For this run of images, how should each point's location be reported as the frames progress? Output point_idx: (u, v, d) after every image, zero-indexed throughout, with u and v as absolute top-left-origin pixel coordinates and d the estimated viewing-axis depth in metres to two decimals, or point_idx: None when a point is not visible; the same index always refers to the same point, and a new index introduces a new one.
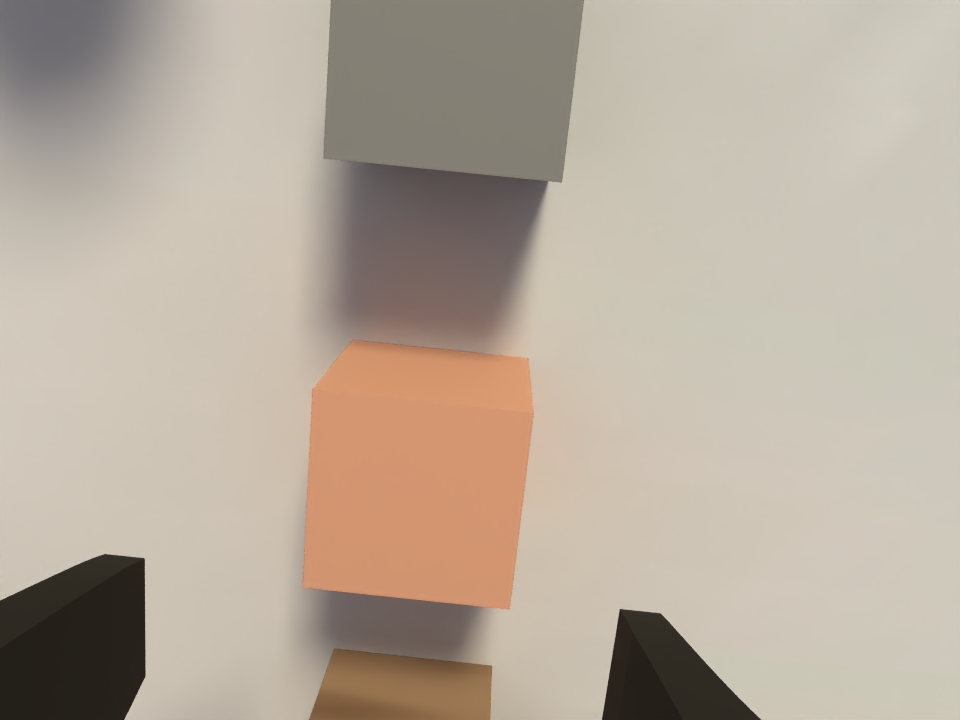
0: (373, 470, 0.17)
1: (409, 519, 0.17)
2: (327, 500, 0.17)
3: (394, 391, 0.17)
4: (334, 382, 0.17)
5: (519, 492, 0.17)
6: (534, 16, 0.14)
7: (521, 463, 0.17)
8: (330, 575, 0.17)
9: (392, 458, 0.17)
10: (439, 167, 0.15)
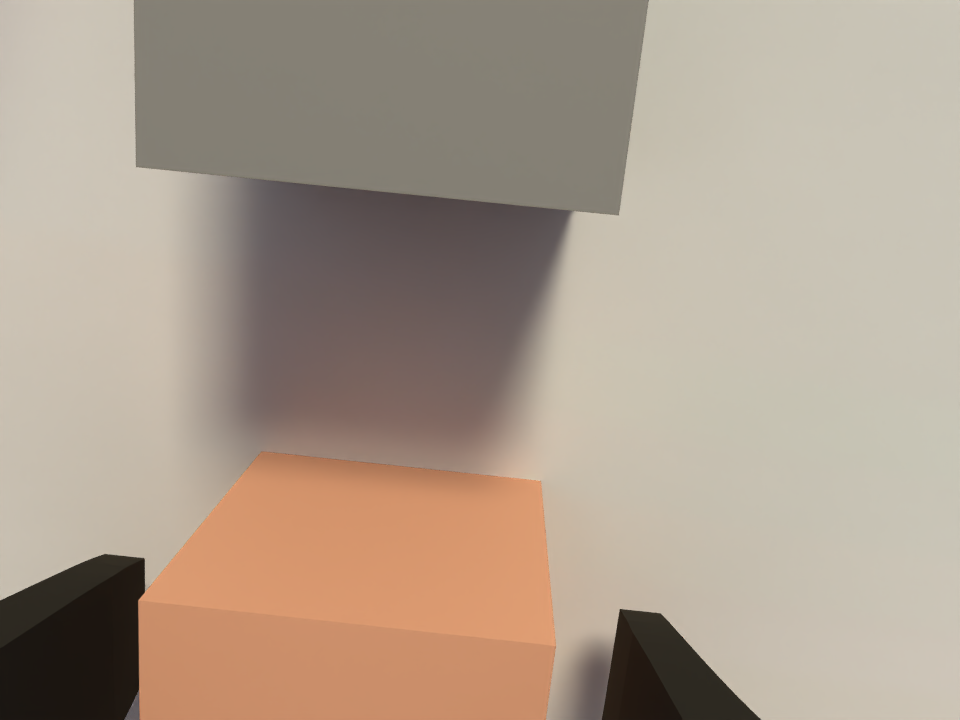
0: None
1: None
2: None
3: (298, 595, 0.09)
4: (190, 575, 0.09)
5: None
6: None
7: None
8: None
9: None
10: (370, 185, 0.07)
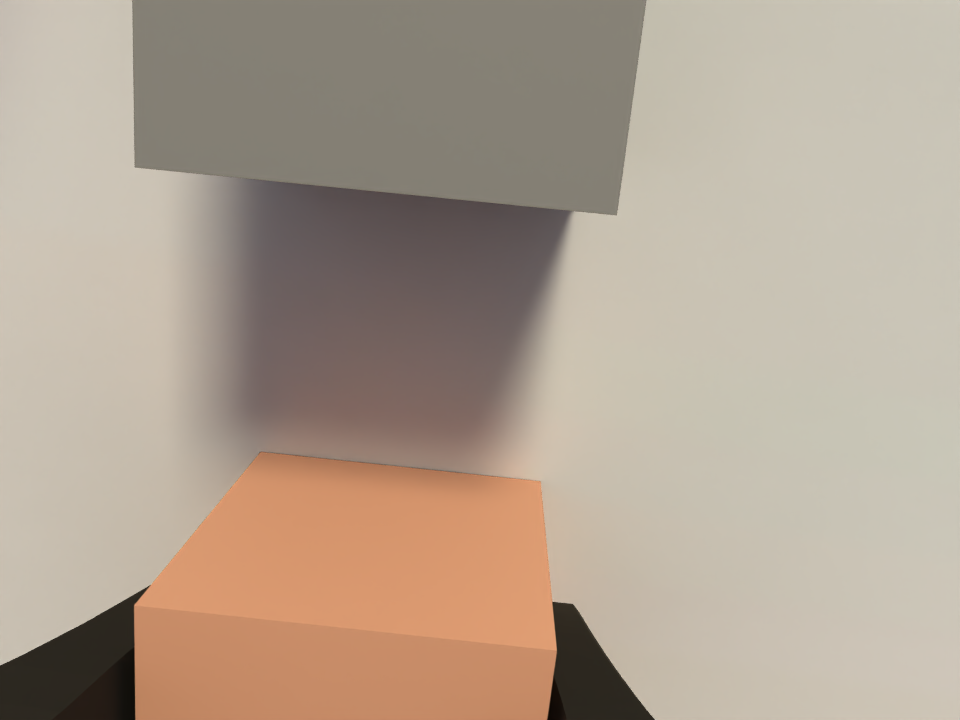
0: None
1: None
2: None
3: (295, 601, 0.09)
4: (186, 580, 0.09)
5: None
6: None
7: None
8: None
9: None
10: (368, 185, 0.07)
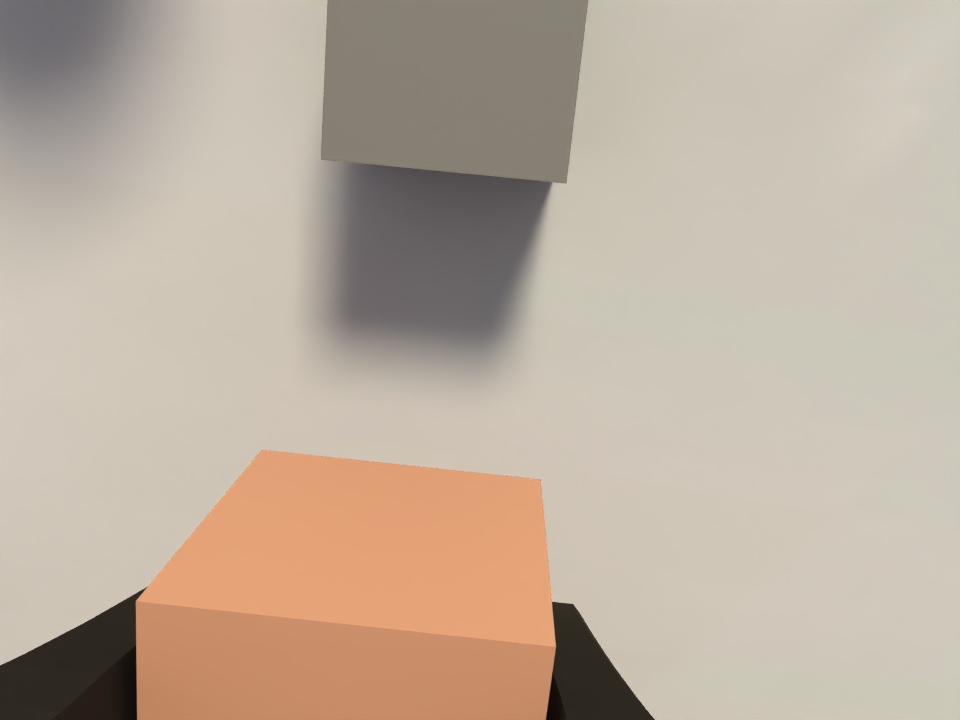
0: None
1: None
2: None
3: (296, 595, 0.09)
4: (188, 576, 0.09)
5: None
6: (537, 12, 0.14)
7: None
8: None
9: None
10: (440, 168, 0.15)
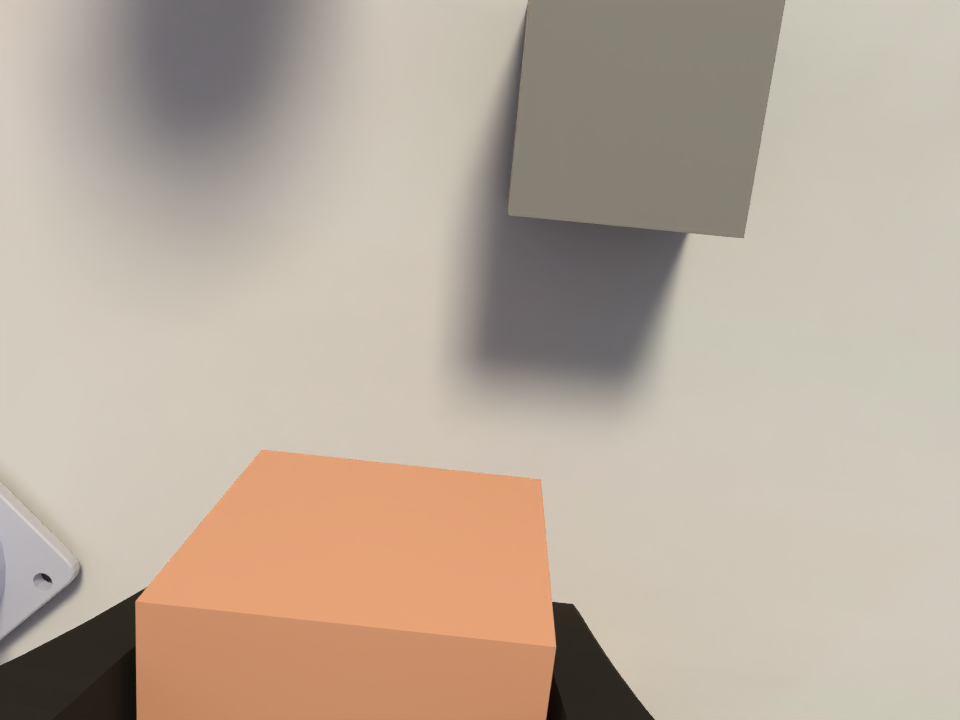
0: None
1: None
2: None
3: (296, 596, 0.09)
4: (187, 576, 0.09)
5: None
6: (724, 77, 0.15)
7: None
8: None
9: None
10: (622, 223, 0.15)
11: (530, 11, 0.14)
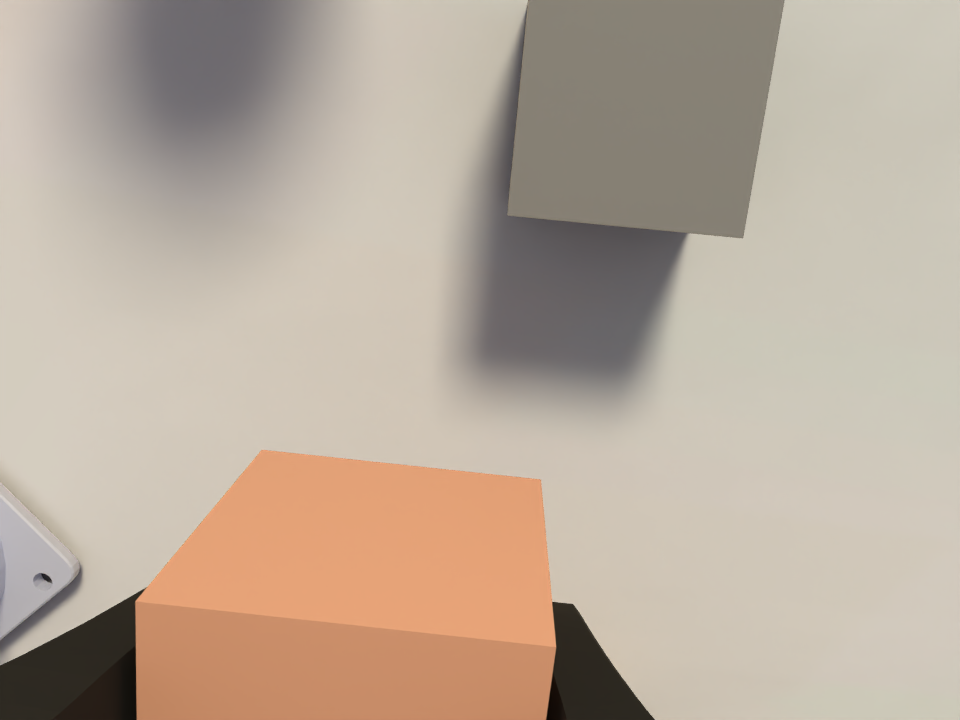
0: None
1: None
2: None
3: (296, 596, 0.09)
4: (187, 576, 0.09)
5: None
6: (723, 76, 0.15)
7: None
8: None
9: None
10: (621, 224, 0.15)
11: (529, 11, 0.14)
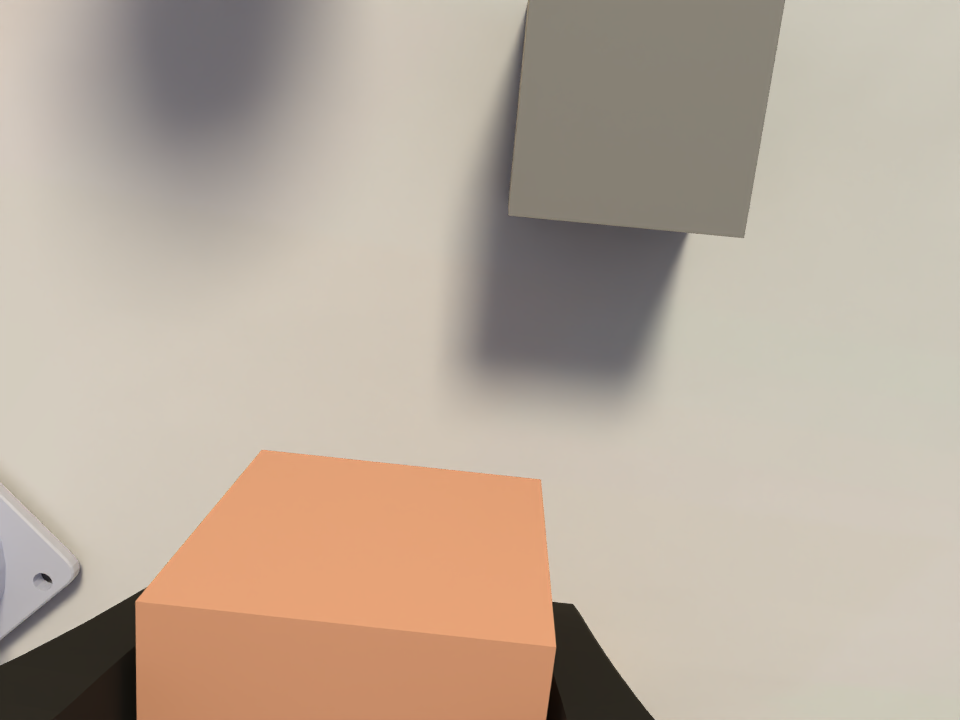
0: None
1: None
2: None
3: (296, 596, 0.09)
4: (187, 576, 0.09)
5: None
6: (724, 76, 0.15)
7: None
8: None
9: None
10: (622, 223, 0.15)
11: (530, 11, 0.14)
